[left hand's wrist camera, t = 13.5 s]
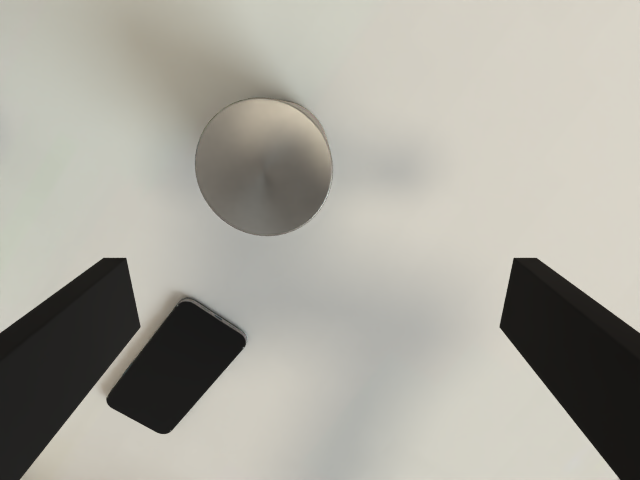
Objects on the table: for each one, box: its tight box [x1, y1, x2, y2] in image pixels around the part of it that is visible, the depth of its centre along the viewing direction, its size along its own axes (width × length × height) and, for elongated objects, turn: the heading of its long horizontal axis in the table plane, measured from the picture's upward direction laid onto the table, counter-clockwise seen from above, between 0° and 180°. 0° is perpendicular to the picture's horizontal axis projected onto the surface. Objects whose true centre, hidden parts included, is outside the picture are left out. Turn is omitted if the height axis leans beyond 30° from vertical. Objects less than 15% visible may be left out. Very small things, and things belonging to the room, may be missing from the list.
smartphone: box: [107, 299, 247, 434], centre depth 35 cm, size 7×1×15 cm
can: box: [195, 98, 333, 236], centre depth 24 cm, size 7×7×10 cm
